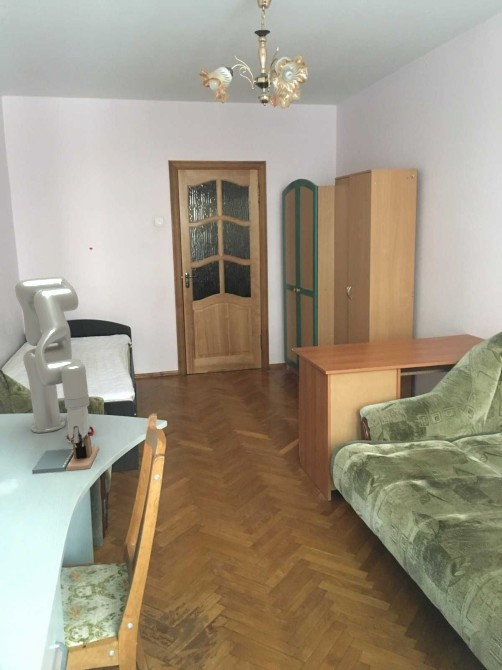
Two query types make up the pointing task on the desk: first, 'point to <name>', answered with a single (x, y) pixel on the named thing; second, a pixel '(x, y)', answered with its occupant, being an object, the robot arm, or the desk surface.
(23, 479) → the desk surface
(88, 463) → the stub
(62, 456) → the board
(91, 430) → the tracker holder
